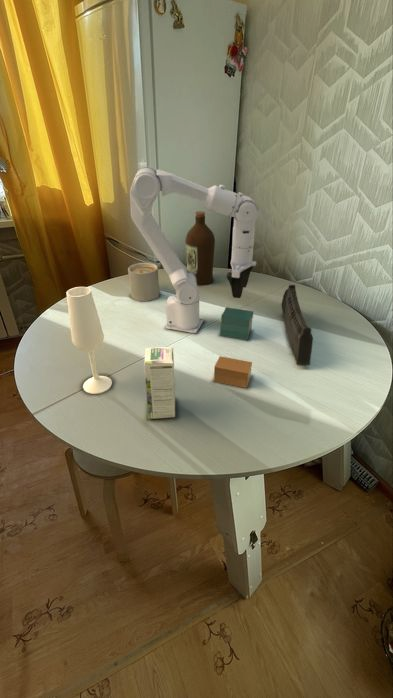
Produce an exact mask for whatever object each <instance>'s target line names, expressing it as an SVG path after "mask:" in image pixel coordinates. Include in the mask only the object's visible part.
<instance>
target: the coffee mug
mask: <svg viewBox="0 0 393 698" xmlns="http://www.w3.org/2000/svg"><path fill="white" fill-rule="evenodd" d="M127 273H128V281H129V289H130V297H131V299H133V300H134V301H137V302H151V301H154V300H156V299H157V298H159V296H160V282H159V281H160V280H159V269H158V265H157V264H154V263H152V262H151V263H150V262H138V263H134V264H131V265H129V266H128V267H127Z"/></svg>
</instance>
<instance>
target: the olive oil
mask: <svg viewBox="0 0 393 698" xmlns="http://www.w3.org/2000/svg"><path fill="white" fill-rule="evenodd" d="M205 214H206V212H205V211H201V210H199V211H196V212H195V216H194V217H195V221H194V222H195V223H194V224H193V226H192V227H191V228H190V229H189V230H188V231H187V233H186V235H185V243H184V244H185V254H186V255H185V256H186V268H187V270H188V271H190V272H192V273H193V274H194V275H195V277H196V280H197V286H204V285H209V284H210V283H212V282H213V274H214V259H215V246H216V239H215V234H214V232H213V231H212V229H211V228H209V226H208V225H207V223H206V215H205Z"/></svg>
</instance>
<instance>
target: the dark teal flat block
mask: <svg viewBox="0 0 393 698" xmlns="http://www.w3.org/2000/svg"><path fill="white" fill-rule="evenodd" d="M220 317H221V318H220V324H221V323H228V324H234V325H240V326H247V327H249V326H250V323H251V321H252V322H253V318H254V310H247V309H241V308H233V307H225V308H224V311H223V312H222V314H221V315H220Z"/></svg>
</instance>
